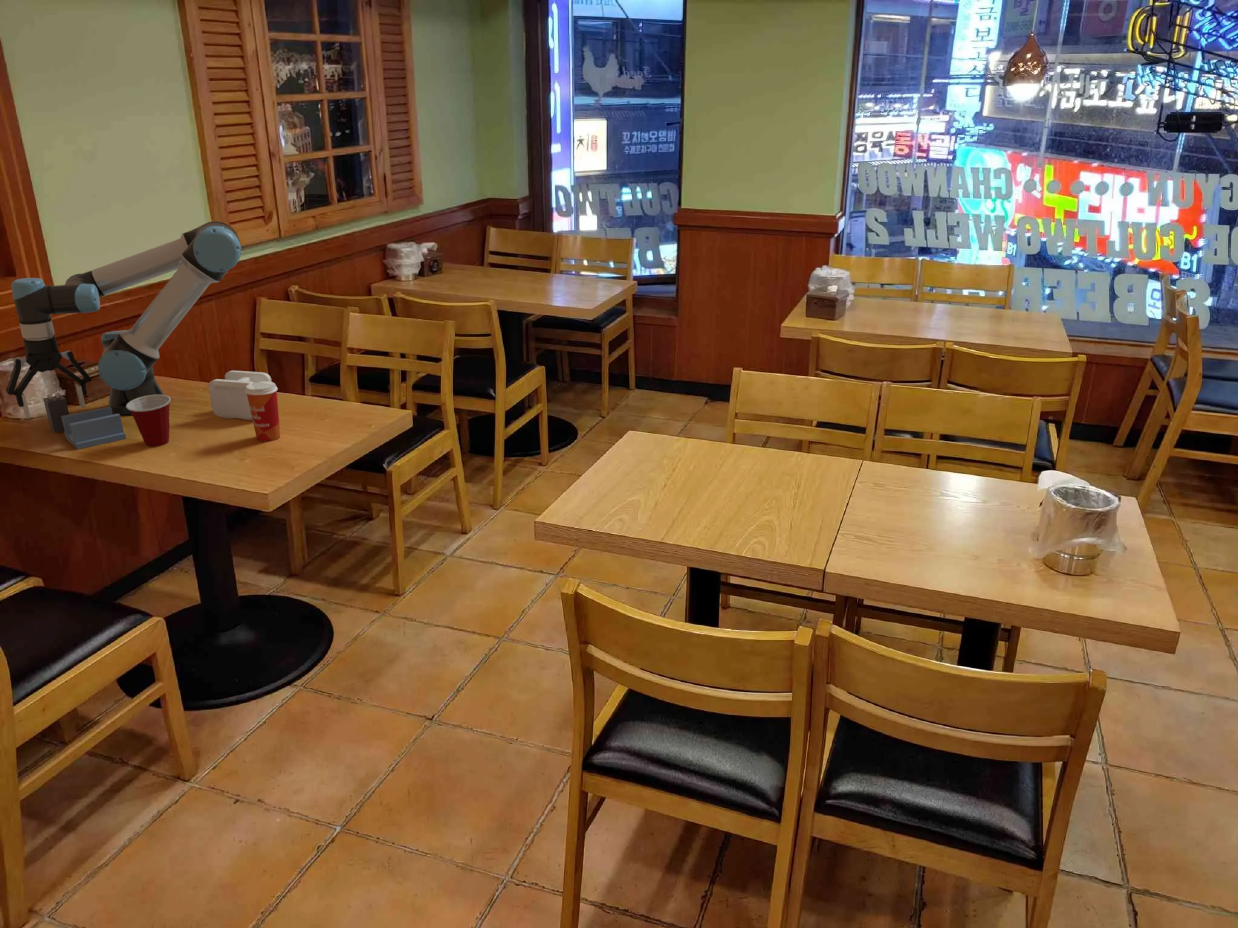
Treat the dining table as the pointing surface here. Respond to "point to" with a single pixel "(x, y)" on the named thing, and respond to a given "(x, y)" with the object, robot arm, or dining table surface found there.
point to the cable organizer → (234, 393)
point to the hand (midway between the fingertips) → (55, 412)
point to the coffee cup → (264, 410)
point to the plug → (56, 411)
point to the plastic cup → (152, 418)
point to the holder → (93, 427)
